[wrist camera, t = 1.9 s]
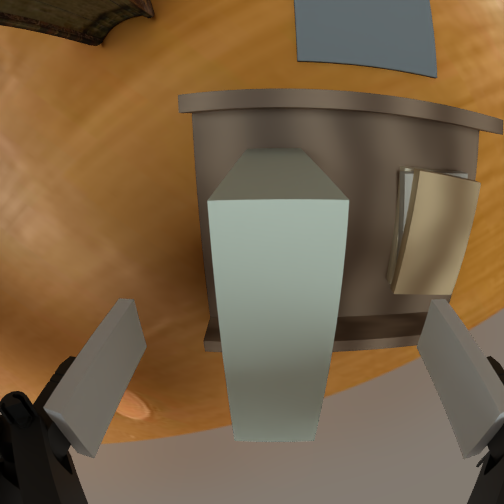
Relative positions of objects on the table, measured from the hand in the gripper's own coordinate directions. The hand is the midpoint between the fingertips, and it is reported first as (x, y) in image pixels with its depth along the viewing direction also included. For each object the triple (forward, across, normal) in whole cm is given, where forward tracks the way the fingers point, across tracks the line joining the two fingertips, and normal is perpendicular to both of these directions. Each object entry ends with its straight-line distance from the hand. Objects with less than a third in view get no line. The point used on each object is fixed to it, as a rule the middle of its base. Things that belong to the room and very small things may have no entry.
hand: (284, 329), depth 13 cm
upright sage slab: (+13, 0, 0) cm, 13 cm away
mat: (+15, +8, +22) cm, 28 cm away
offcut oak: (+11, +12, 0) cm, 17 cm away
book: (+14, -14, +25) cm, 32 cm away
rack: (+15, +6, 0) cm, 16 cm away
